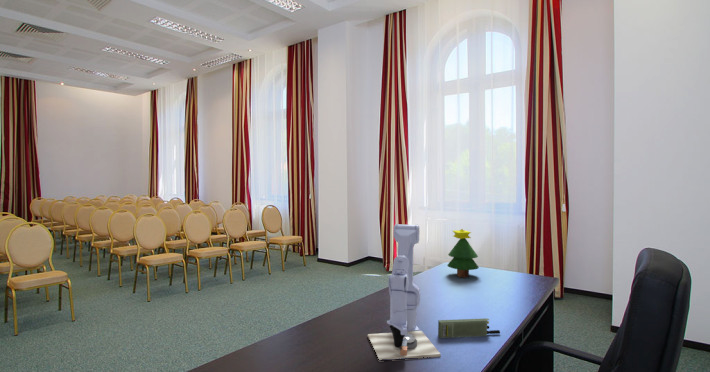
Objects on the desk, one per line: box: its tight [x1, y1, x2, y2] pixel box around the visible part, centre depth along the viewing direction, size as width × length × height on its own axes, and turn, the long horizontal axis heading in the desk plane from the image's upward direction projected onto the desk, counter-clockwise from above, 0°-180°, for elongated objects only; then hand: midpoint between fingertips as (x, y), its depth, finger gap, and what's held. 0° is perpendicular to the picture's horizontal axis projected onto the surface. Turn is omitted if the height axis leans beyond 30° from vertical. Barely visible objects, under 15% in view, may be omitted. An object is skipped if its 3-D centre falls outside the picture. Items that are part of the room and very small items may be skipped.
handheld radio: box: [437, 317, 501, 339], centre depth 150 cm, size 7×3×25 cm
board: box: [367, 330, 442, 361], centre depth 140 cm, size 20×22×2 cm
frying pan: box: [400, 333, 415, 356], centre depth 135 cm, size 7×16×2 cm, turn 170°
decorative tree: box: [446, 228, 479, 278], centre depth 239 cm, size 19×19×30 cm
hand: (398, 346), depth 133 cm, fingers closed, pressing on frying pan
